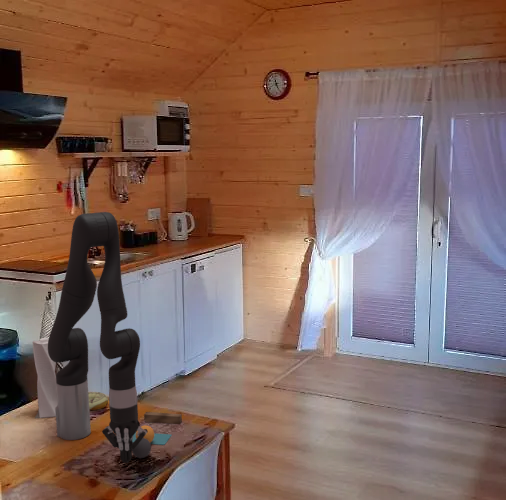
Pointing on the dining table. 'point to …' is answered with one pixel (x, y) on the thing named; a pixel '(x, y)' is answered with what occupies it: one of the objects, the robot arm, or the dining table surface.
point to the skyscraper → (45, 379)
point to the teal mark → (157, 438)
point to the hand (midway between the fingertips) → (126, 461)
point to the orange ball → (149, 434)
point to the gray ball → (142, 449)
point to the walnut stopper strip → (162, 417)
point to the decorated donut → (97, 400)
